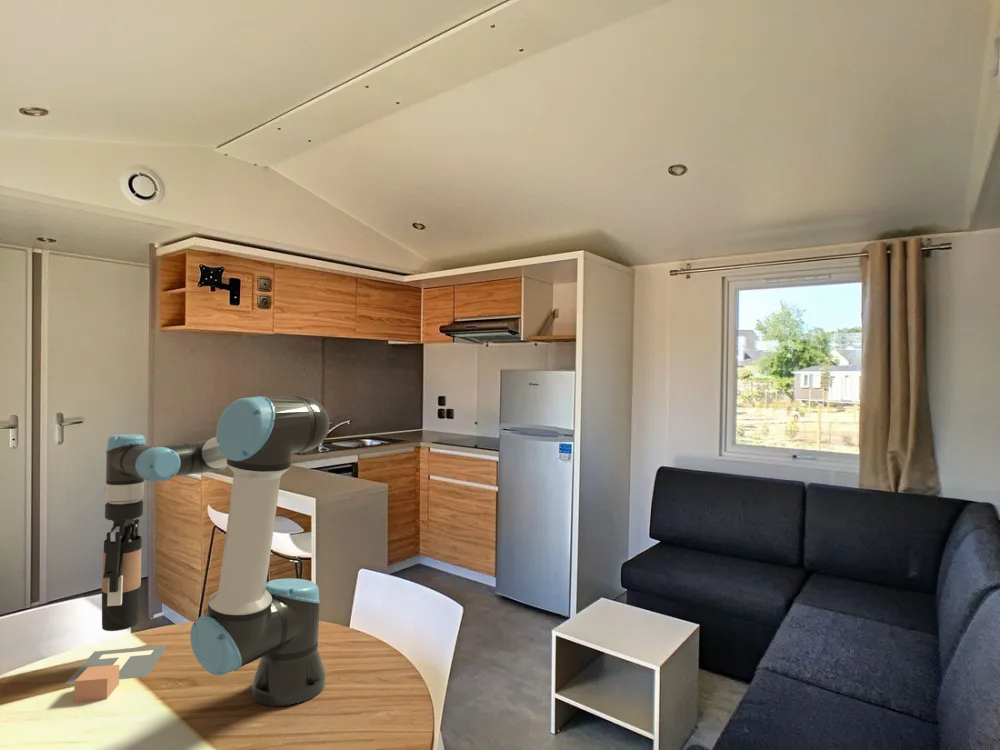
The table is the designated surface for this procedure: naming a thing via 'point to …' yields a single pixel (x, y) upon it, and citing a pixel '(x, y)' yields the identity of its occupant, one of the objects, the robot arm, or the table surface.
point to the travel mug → (124, 589)
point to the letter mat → (124, 661)
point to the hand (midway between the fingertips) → (121, 598)
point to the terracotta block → (96, 683)
